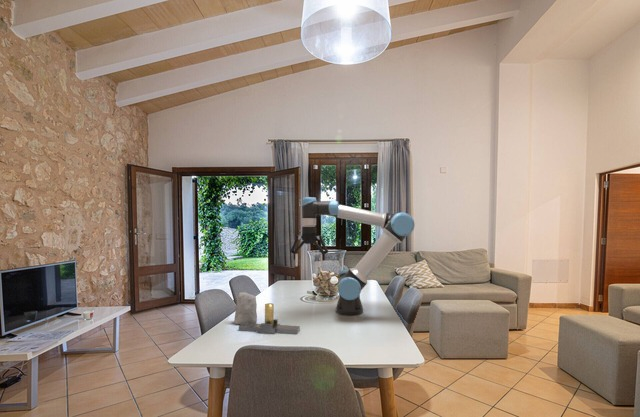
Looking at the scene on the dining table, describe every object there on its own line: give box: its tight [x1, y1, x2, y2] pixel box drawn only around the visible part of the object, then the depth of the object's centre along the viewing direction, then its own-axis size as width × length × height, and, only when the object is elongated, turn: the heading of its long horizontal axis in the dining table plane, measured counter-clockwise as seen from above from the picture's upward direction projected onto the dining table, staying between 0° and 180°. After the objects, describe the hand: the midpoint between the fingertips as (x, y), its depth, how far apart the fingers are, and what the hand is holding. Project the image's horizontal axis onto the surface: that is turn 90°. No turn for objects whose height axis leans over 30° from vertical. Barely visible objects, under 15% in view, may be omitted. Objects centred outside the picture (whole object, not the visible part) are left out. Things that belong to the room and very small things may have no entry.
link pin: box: [264, 303, 275, 328], centre depth 149 cm, size 4×4×12 cm
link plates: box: [238, 319, 301, 335], centre depth 149 cm, size 28×8×4 cm, turn 80°
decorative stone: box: [233, 291, 258, 325], centre depth 159 cm, size 11×6×15 cm, turn 87°
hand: (309, 266), depth 170 cm, fingers open, 13 cm apart
